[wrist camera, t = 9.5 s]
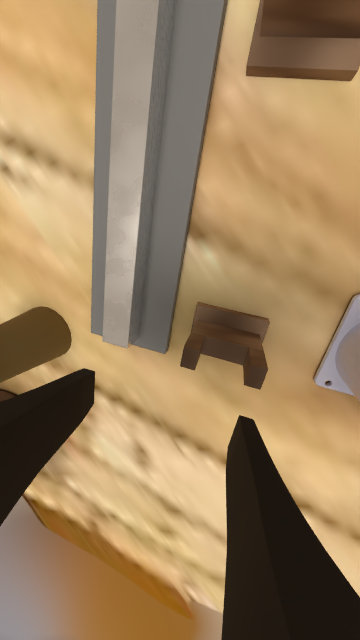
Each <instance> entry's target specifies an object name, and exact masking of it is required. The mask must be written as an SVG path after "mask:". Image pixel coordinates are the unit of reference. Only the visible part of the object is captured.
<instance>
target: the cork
mask: <svg viewBox="0 0 360 640" xmlns="http://www.w3.org/2000/svg"><path fill="white" fill-rule="evenodd" d="M70 345H71V333H70V330H69V328H68V325H67V324H66V322H65V321H64V319H63V318H62V317H61V316H60V315H59V314H58V313H57V312H56V311H54V310H52V309H50V308H47V307H36V308H33V309H31V310H29V311H27V312H25V313H23V314H21V315H19V316H17V317H15V318H13V319H11V320H9V321H7V322H5V323H3V324H0V382H3V381H5V380H7V379H9V378H12V377H14V376H16V375H18V374H21V373H23V372H25V371H27V370H30V369H32V368H34V367H36V366H39V365H41V364H43V363H45V362H48V361H50V360H52V359H55V358H57V357H59V356H61V355H63V354H65V353H66V352H67V351H68V350H69V348H70Z"/></svg>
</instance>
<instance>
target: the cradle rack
mask: <svg viewBox="0 0 360 640" xmlns="http://www.w3.org/2000/svg"><path fill="white" fill-rule="evenodd" d="M359 66H360V0H260V5H259V9H258V14H257V19H256V24H255V28H254V33H253V38H252V43H251V48H250V52H249V57H248V62H247V70H246V75H247V76H266V77H286V78H306V79H326V80H346V81H351V80H352V78H353V77H354V75H355V74H356V72H357V71H358V69H359ZM268 325H269V319H267V318H263V317H258V316H254V315H250V314H246V313H241V312H237V311H233V310H229V309H225V308H220V307H216V306H212V305H208V304H204V303H199V302H198V304H197V306H196V311H195V316H194V320H193V325H192V330H191V334H190V336H189V338H188V340H187V342H186V344H185V346H184V349H183V354H182V359H181V364H180V366H181V367H185V368H188V369H192V370H195V368H196V365H197V362H198V360H199V357H200V354H204V355H208V356H212V357H215V358H219V359H222V360H226V361H230V362H233V363H237V364H240V365H243V371H244V385H246V386H249V387H253V388H256V389H261V387H262V384H263V381H264V379H265V376H266V373H267V371H268V367H267V363H266V359H265V355H264V351H263V346H262V342H263V340H264V337H265V334H266V331H267V328H268Z"/></svg>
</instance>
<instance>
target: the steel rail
mask: <svg viewBox="0 0 360 640" xmlns="http://www.w3.org/2000/svg"><path fill="white" fill-rule="evenodd" d="M175 9H176V0H116V24H115V48H114V72H113V97H112V121H111V146H110V170H109V194H108V219H107V243H106V268H105V292H104V316H103V342H107V343H110V344H114V345H117V346H121V347H124V348H129V347H130V346H131V345H132V344H133V343H134V342H135V341H136V340H137V339H138V338H139V335H140V326H141V317H142V307H143V298H144V289H145V280H146V271H147V262H148V253H149V244H150V235H151V226H152V217H153V208H154V199H155V190H156V181H157V172H158V163H159V154H160V145H161V136H162V127H163V118H164V108H165V99H166V90H167V81H168V72H169V63H170V54H171V45H172V36H173V27H174V18H175Z"/></svg>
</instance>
